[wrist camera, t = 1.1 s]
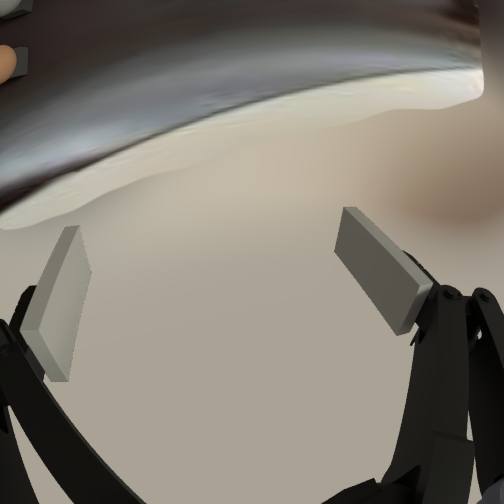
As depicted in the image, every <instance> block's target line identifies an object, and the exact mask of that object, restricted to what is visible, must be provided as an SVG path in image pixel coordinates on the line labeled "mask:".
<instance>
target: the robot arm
mask: <svg viewBox="0 0 504 504" xmlns="http://www.w3.org/2000/svg"><path fill="white" fill-rule="evenodd" d="M334 252H335V253H336V254H337V256H338V257H339V258H340V259H341V261H342V262H343V263H344V265H345V266H346V267H347V269H348V270H349V271H350V273H351V274H352V275H353V276H354V278H355V279H356V280H357V282H358V283H359V284H360V286H361V287H362V289H363V290H364V291H365V293H366V294H367V295H368V297H369V298H370V299H371V301H372V302H373V303H374V305H375V306H376V308H377V309H378V310H379V312H380V313H381V315H382V316H383V317H384V319H385V320H386V322H387V323H388V324H389V326H390V327H391V329H392V330H393V331H394V333H395V334H396V336H398V335H402V334H405V333H409V332H410V330H411V329H412V327H413V325H414V323H416V324H417V325H418V326H419V328H418V330H417V332H416V334H415V336H414V338H413V339H412V341H411V343H410V346H412V345H413V343H414V342H415V347H414V355H413V362H412V370H411V376H410V382H409V388H408V393H407V399H406V404H405V409H404V414H403V419H402V423H401V427H400V432H399V436H398V440H397V444H396V448H395V452H394V455H393V459H392V462H391V465H390V467H389V468H388V470H387V471H386V473H385V474H384V477H383V478H382V480H381V483H376V481H375V479H374V478H372V479H370V480H367V481H365V482H362V483H360V484H357V485H355V486H352V487H349V488H347V489H344V490H343V491H341V492H339V493H338V494H336V495H335V496H333V497H331V498H330V499H328V500H326V501H325V502H323V503H322V504H468V499H469V493H470V487H471V481H472V474H473V466H474V457H475V461H476V471H477V478H478V484H479V488H480V492H481V495H482V500H480V501H479V502H478V503H477V504H504V314H503V312H502V310H501V308H500V306H499V304H498V302H497V300H496V298H495V296H494V295H493V294H492V293H491V292H490V291H489V290H487V289H484V288H476V289H475V290H474V292H473V294H472V296H463V295H462V294H461V293H460V291H458V290H457V289H456V288H454V287H452V286H449V285H440V284H439V283H438V282H437V281H436V280H435V279H434V278H433V277H432V276H431V275H430V274H429V272H428V271H427V270H426V269H424V267H423V266H422V265H421V264H419V263H418V261H417V260H416V259H415V258H414V257H413V256H412V255H410V254H408V253H407V252H405V251H403V250H401V249H400V248H399V247H398V246H397V245H396V244H395V243H394V242H393V241H392V240H391V239H390V238H389V237H388V236H387V235H386V234H384V233H383V232H382V231H381V230H380V229H379V228H378V227H377V226H376V225H375V224H374V223H373V222H372V221H371V220H370V219H369V218H367V217H366V216H365V215H364V214H363V213H362V212H361V211H360V210H359V209H358V208H356V207H343V212H342V217H341V223H340V227H339V232H338V237H337V241H336V246H335V250H334ZM90 277H91V270H90V266H89V262H88V258H87V255H86V251H85V247H84V243H83V239H82V235H81V230H80V226H79V225H78V226H70V227H65V228H64V230H63V232H62V234H61V236H60V238H59V240H58V242H57V244H56V246H55V248H54V250H53V252H52V254H51V256H50V258H49V260H48V263H47V265H46V267H45V269H44V271H43V274H42V276H41V278H40V280H39V283H38V285H34V286H29V287H28V288H27V289H26V290H25V291H24V292H23V293H22V295H21V297H20V300H19V302H18V305H17V307H16V309H15V312H14V314H13V316H12V319H11V321H10V324H9V326H8V324H7V323H6V322H5V321H4V320H3V319H0V504H39V502H38V500H37V498H36V495H35V493H34V490H33V488H32V486H31V483H30V480H29V478H28V475H27V472H26V469H25V466H24V464H23V460H22V457H21V454H20V452H19V448H18V445H17V441H16V438H15V434H14V431H13V427H12V423H11V419H10V415H9V411H8V406H9V405H10V406H11V408H12V410H13V412H14V414H15V416H16V418H17V420H18V422H19V423H20V425H21V427H22V429H23V430H24V432H25V434H26V436H27V437H28V439H29V441H30V442H31V444H32V446H33V447H34V449H35V450H36V452H37V453H38V455H39V456H40V458H41V460H42V461H43V463H44V464H45V466H46V467H47V468H48V470H49V471H50V473H51V474H52V476H53V477H54V478H55V480H56V481H57V482H58V484H59V485H60V486H61V488H62V489H63V490H64V492H65V493H66V494H67V496H68V497H69V498H70V499H71V501H72V502H73V503H74V504H146V503H145V502H144V501H143V500H142V499H141V498H140V497H139V496H138V495H136V493H134V492H133V491H132V490H131V489H130V488H129V487H128V486H127V485H126V484H125V483H124V482H123V481H122V480H121V479H120V478H119V477H118V476H117V475H116V473H114V471H113V470H112V469H111V468H110V467H109V466H108V465H107V464H106V463H105V462H104V461H103V459H102V458H101V457H100V456H99V455H98V454H97V453H96V451H95V450H94V449H93V448H92V447H91V446H90V445H89V443H88V442H87V441H86V440H85V438H84V437H83V436H82V435H81V433H80V432H79V431H78V430H77V428H76V427H75V426H74V425H73V423H72V422H71V420H70V419H69V418H68V417H67V415H66V414H65V413H64V411H63V410H62V408H61V407H60V406H59V404H58V403H57V401H56V400H55V399H54V397H53V395H52V394H51V392H50V391H49V389H48V388H47V387H46V385H45V384H44V382H43V379H44V374H45V373H46V375H47V376H48V378H49V379H50V381H51V382H68V381H69V374H70V368H71V362H72V356H73V351H74V346H75V340H76V335H77V330H78V326H79V321H80V317H81V312H82V308H83V304H84V300H85V296H86V292H87V288H88V284H89V281H90ZM480 330H481V332H482V336H481V338H480V339H478V336H477V335H478V333H479V332H480ZM468 411H469V416H470V422H471V429H472V436H473V441H471V440H468V439H467V435H466V434H467V422H468Z"/></svg>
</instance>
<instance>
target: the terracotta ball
mask: <svg viewBox="0 0 504 504" xmlns="http://www.w3.org/2000/svg"><path fill="white" fill-rule="evenodd" d="M16 62H17V58H16V54H15V52H14V50H13V49H12V48H11V47H9V46H6V45H0V84H1V83H3V82H5V81H6V80H7V79H8V78H9V77H10V76H11V75H12V73H13V72H14V70H15V67H16Z"/></svg>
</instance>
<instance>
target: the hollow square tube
mask: <svg viewBox="0 0 504 504" xmlns="http://www.w3.org/2000/svg"><path fill="white" fill-rule="evenodd" d="M13 50H14V52H15V54H16V58H17V62H16V67H15V70H14V72H13V73H12V75H11V76H10V77H9V78H8V79H10V78H14V77H18V76H22V75H26V74H27V68H28V47H17V48H13Z"/></svg>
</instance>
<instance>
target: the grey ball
mask: <svg viewBox="0 0 504 504" xmlns="http://www.w3.org/2000/svg"><path fill="white" fill-rule="evenodd" d="M20 2H21V0H0V17H1V16H5V15H7V14H9V13H11V12H12V11H13V10H14V9H15V8H16V7H17V6H18V5H19V3H20Z"/></svg>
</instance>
